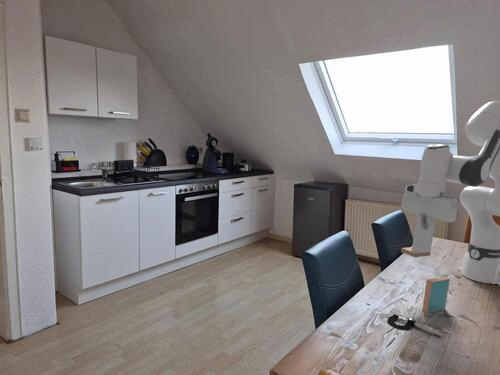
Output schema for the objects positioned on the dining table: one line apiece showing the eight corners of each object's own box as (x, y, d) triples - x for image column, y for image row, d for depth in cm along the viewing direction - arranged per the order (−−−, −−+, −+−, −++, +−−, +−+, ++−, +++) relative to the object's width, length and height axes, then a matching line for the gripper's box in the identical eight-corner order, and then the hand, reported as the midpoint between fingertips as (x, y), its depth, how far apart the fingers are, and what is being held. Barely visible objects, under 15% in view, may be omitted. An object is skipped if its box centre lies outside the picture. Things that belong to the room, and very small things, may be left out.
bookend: (416, 250, 140) (422, 210, 137) (429, 255, 134) (436, 214, 132) (400, 251, 136) (406, 210, 134) (414, 257, 131) (420, 214, 129)
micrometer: (383, 324, 116) (384, 316, 116) (393, 317, 121) (394, 309, 121) (433, 345, 106) (434, 337, 105) (441, 337, 111) (443, 329, 110)
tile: (440, 306, 130) (444, 276, 128) (445, 308, 128) (449, 278, 127) (422, 310, 126) (426, 279, 124) (427, 313, 124) (431, 282, 123)
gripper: (464, 196, 122) (457, 236, 124) (413, 185, 140) (408, 221, 142) (451, 196, 119) (444, 237, 121) (401, 185, 137) (396, 221, 139)
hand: (424, 228), depth 132 cm, fingers closed on bookend
